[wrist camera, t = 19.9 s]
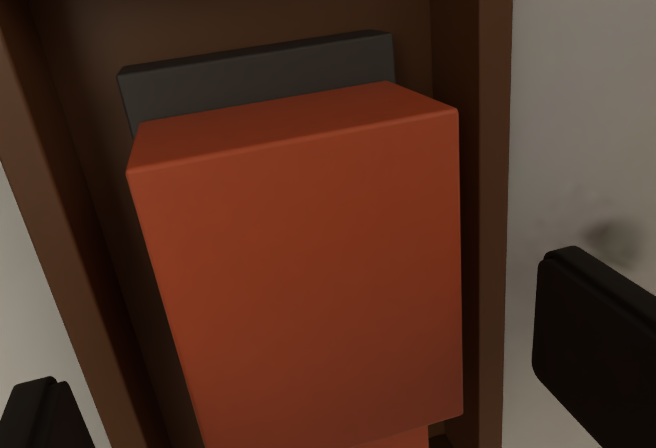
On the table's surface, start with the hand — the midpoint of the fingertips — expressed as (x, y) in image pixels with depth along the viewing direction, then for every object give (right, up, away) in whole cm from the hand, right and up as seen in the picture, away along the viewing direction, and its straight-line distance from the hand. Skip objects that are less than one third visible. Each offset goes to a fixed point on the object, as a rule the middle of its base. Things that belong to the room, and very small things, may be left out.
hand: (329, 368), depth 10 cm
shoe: (-1, +2, +5) cm, 5 cm away
